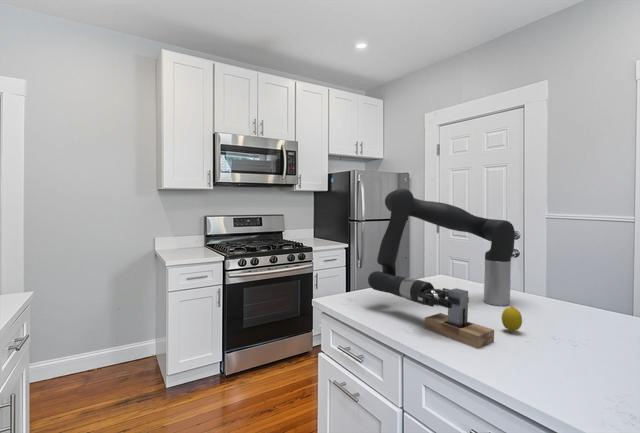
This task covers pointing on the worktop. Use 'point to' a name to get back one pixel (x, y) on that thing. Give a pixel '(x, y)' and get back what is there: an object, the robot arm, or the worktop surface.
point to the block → (458, 308)
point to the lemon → (511, 319)
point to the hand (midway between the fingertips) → (459, 302)
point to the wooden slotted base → (460, 331)
